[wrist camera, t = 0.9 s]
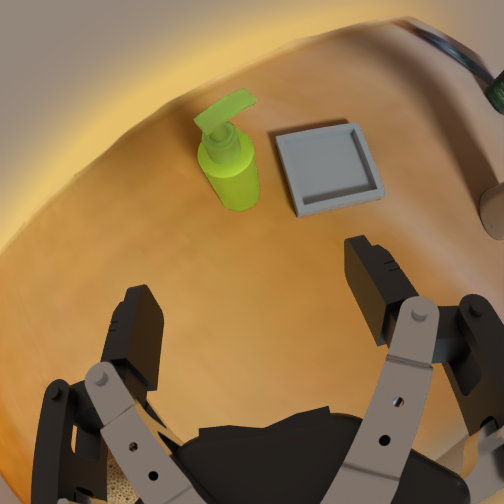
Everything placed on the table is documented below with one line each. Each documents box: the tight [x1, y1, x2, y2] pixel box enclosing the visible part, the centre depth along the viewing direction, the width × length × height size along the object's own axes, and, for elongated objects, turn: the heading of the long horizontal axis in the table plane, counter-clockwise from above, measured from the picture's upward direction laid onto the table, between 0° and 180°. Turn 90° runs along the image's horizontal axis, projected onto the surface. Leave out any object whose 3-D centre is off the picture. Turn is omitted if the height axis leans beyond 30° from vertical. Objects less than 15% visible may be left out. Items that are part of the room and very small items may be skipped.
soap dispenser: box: [193, 88, 260, 211], centre depth 32 cm, size 6×7×20 cm
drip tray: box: [276, 122, 386, 218], centre depth 40 cm, size 13×12×2 cm
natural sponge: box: [107, 458, 139, 504], centre depth 32 cm, size 9×9×10 cm
